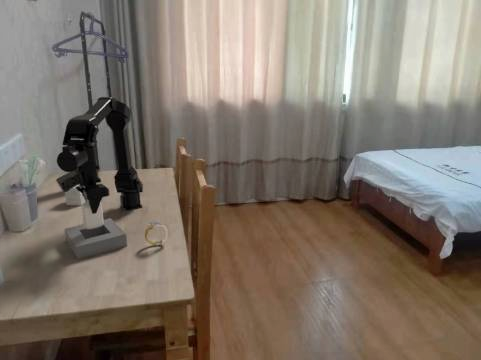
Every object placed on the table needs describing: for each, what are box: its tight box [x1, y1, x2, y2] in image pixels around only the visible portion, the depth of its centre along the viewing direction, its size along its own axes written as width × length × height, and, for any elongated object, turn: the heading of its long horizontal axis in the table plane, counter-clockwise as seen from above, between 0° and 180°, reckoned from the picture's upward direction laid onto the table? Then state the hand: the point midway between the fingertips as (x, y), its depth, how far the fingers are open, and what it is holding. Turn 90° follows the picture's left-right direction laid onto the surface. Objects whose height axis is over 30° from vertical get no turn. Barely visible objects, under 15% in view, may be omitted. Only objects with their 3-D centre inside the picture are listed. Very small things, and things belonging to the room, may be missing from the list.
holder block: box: [64, 217, 128, 260], centre depth 121 cm, size 14×14×4 cm
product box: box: [64, 185, 86, 206], centre depth 153 cm, size 6×6×7 cm
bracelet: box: [144, 220, 169, 247], centre depth 120 cm, size 7×3×8 cm, turn 103°
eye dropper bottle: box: [81, 200, 105, 229], centre depth 118 cm, size 4×6×12 cm
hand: (92, 211), depth 119 cm, fingers closed on eye dropper bottle, 3 cm apart
